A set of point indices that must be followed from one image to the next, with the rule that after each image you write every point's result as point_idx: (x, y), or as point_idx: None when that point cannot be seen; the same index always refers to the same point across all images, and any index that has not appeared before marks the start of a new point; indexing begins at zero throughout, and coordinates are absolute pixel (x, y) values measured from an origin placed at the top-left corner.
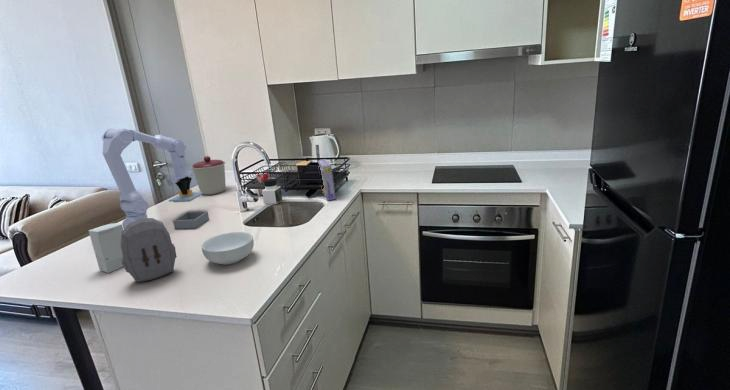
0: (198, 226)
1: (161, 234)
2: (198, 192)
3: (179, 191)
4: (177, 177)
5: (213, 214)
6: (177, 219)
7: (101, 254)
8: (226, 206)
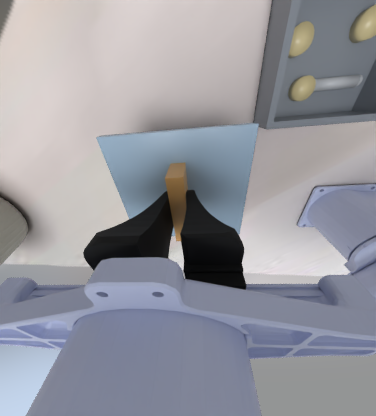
0: None
1: None
2: (115, 163)
3: None
4: (309, 339)
5: (189, 28)
6: (359, 114)
7: None
8: (68, 28)
